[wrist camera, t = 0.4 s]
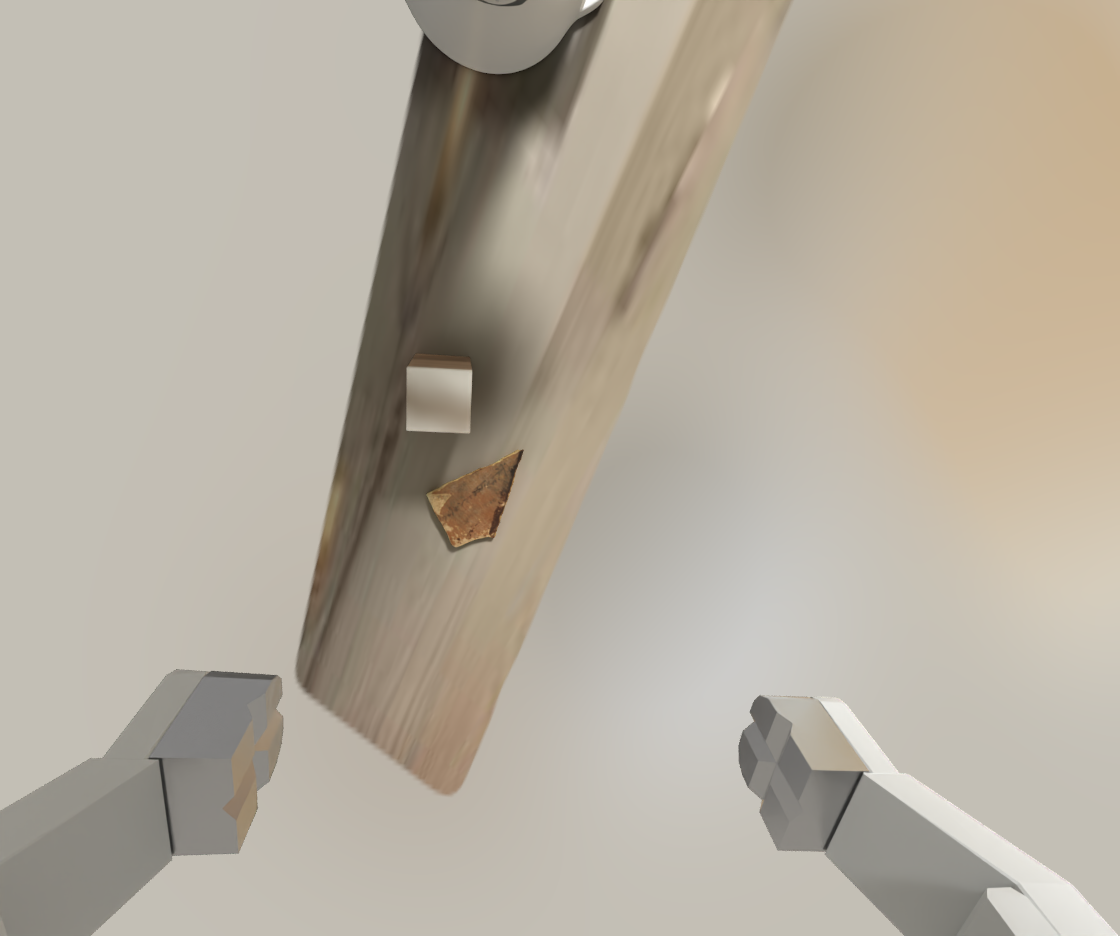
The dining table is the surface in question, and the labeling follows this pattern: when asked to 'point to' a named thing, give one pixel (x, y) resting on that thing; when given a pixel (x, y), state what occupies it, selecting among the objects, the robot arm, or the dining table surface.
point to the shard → (475, 500)
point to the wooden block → (439, 393)
